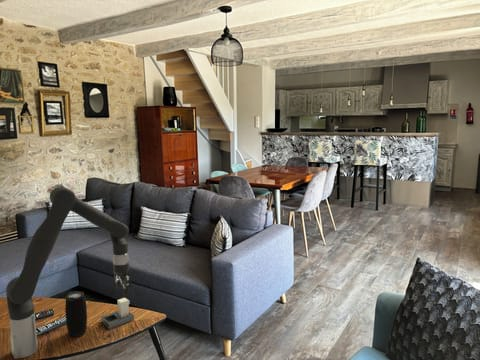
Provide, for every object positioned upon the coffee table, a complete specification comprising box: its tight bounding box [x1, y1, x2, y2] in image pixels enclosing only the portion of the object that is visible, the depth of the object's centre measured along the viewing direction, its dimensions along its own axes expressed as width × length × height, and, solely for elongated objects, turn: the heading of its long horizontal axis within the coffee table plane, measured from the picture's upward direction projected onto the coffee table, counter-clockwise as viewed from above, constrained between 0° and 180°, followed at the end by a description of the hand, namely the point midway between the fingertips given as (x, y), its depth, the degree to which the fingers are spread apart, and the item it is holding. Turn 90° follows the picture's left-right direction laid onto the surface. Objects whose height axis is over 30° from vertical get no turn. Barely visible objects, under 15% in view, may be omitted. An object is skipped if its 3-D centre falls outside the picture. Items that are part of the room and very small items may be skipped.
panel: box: [100, 310, 135, 330], centre depth 185 cm, size 13×10×3 cm
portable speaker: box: [64, 290, 88, 338], centre depth 172 cm, size 9×9×20 cm
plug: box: [117, 297, 131, 318], centre depth 187 cm, size 5×4×10 cm
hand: (122, 292), depth 185 cm, fingers open, 8 cm apart
